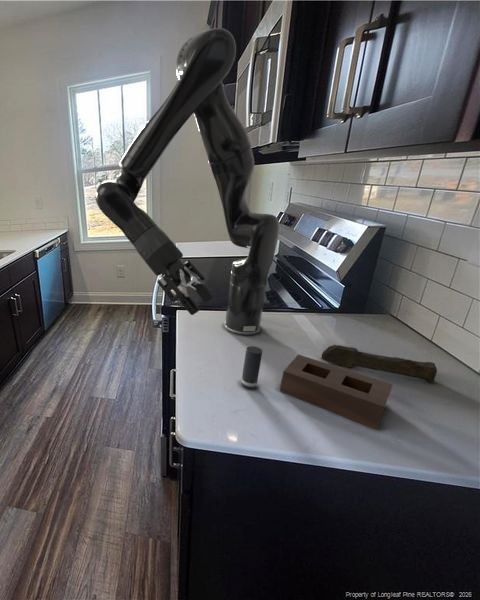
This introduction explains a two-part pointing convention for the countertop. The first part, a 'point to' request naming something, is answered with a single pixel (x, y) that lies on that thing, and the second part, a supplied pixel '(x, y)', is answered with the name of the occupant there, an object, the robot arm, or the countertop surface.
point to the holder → (337, 389)
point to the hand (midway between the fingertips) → (203, 306)
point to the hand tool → (379, 362)
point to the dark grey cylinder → (251, 367)
